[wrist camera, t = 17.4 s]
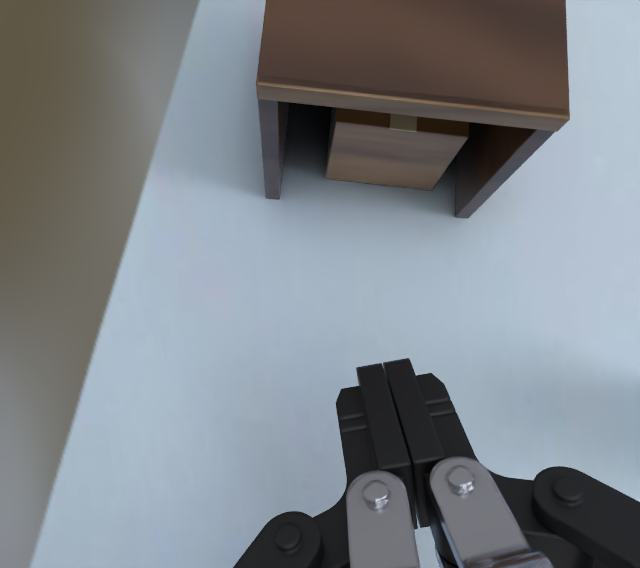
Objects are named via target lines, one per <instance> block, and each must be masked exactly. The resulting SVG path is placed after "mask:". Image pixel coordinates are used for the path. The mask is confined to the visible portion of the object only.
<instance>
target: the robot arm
mask: <svg viewBox="0 0 640 568" xmlns="http://www.w3.org/2000/svg"><path fill="white" fill-rule="evenodd" d="M356 370H357V377H358V383H359V386H356V387H350V388H344V389H341V391H340V394H339V396H338V399H337V401H336V408H337V415H338V421H339V428H340V435H341V441H342V448H343V455H344V461H345V468H346V475H347V486H346V489H345V492H344V494H343V496H342V497H341V499H340V500H339V501H338V502H337V503H336V504H335V505H334V506H333V507H332V508H330V509H328V510H327V511H325V512H323V513H321V514H319V515H317V516H315V517H313V518H312V517H311V516H309V515H307V514H305V513H302V512H296V511H292V512H286V513H282V514H280V515H278V516H276V517H274V518H273V519H271V520H270V521H269V522H268V523H267V524H266V525H265V526H264V528H263V529H262V530H261V532H260V533H259V534H258V536H257V537H256V538H255V540H254V541H253V542H252V543H251V545H250V546H249V547H248V549H247V550H246V551H245V553H244V554H243V555H242V557H241V558H240V559H239V561H238V562H237V563H236V564H235V566H234V567H233V568H420V564H419V558H418V552H417V546H416V541H415V532H414V529H418V527H417V517H418V521H419V525H420V528H422V527H428V526H430V527H431V531H432V534H433V538H434V541H435V550H436V557H437V561H438V563H439V566H440V568H640V502H638V501H636V500H634V499H633V498H631V497H629V496H627V495H625V494H623V493H621V492H619V491H617V490H615V489H613V488H611V487H609V486H608V485H606V484H604V483H602V482H600V481H598V480H596V479H594V478H592V477H590V476H588V475H586V474H584V473H583V472H580V471H578V470H576V469H572V468H568V467H560V466H558V467H550V468H547V469H544V470H542V471H541V472H539V473H538V474H537V475H536V477H535V479H534V481H533V480H524V479H515V478H508V477H504V476H500V475H498V474H495V473H493V472H491V471H490V470H488V469H487V468H486V467H485V466H483V465H482V464H481V463H480V462H479V461H478V459H477V458H476V456H475V454H474V452H473V450H472V447H471V445H470V443H469V440H468V438H467V436H466V433H465V431H464V429H463V427H462V424H461V422H460V420H459V417H458V415H457V413H456V412H455V408H454V406H453V404H452V401H451V400H450V397H449V394H448V392H447V390H446V387H445V385H444V384H443V383H442V382H441V381H440V380H439V379H438V378H436V377H435V376H434V375H433V374H432V373H428V374H423V375H417V376H416V375H415V373H414V370H413V367H412V364H411V362H410V360H409V358H406V359H401V360H395V361H389V362H384V363H383V366H382V364H381V363H379V364H373V365H368V366H362V367H356ZM416 514H417V517H416Z"/></svg>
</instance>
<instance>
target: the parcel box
mask: <svg viewBox="0 0 640 568" xmlns="http://www.w3.org/2000/svg"><path fill="white" fill-rule="evenodd" d="M468 137H469V122H465V121H456V120H446V119H437V118H428V117H419V116H410V115H401V114H392V113H382V112H373V111H364V110H355V109H346V108H337V107H332V112H331V122H330V133H329V144H328V154H327V165H326V175H325V178H326V179H334V180H343V181H352V182H361V183H370V184H378V185H387V186H396V187H405V188H414V189H422V190H432V189H433V187H434V186H435V185H436V183H437V182H438V180H439V179H440V177H441V176H442V175H443V173H444V172H445V170H446V169H447V167H448V166H449V165H450V163H451V162H452V160H453V159H454V157H455V156H456V155H457V153H458V152H459V150H460V149H461V147H462V146H463V145H464V143H465V142H466V140H467V139H468Z"/></svg>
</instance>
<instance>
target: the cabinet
mask: <svg viewBox="0 0 640 568" xmlns="http://www.w3.org/2000/svg"><path fill="white" fill-rule="evenodd" d="M256 89H257V98H258V107H259V119H260V132H261V144H262V156H263V168H264V180H265V192H266V198H271V199H279V198H280V190H281V180H282V170H283V160H284V150H285V141H286V131H287V121H288V111H289V102H291V103H300V104H309V105H318V106H328V107H337V108H346V109H355V110H364V111H373V112H382V113H392V114H401V115H410V116H419V117H428V118H437V119H446V120H456V121H465V122H469V137H468V139H467V140H466V142H465V143H464V145H463V146H462V147H461V149H460V150H459V152H458V153H457V155H456V205H455V217H461V218H469V217H470V216H471V215H472V214H473V213H474V212H475V211H476V210H477V209H478V208H479V207H480V206H481V205H482V204H483V203H484V202H485V201H486V200H487V199H488V198H489V197H490V196H491V195H492V194H493V193H494V192H495V191H496V190H497V189H498V188H499V187H500V186H501V185H502V184H503V183H504V182H505V181H506V180H507V179H508V178H509V177H510V176H511V175H512V174H513V173H514V172H515V171H516V170H517V169H518V168H519V167H520V166H521V165H522V164H523V163H524V162H525V161H526V160H527V159H528V158H529V157H530V156H531V155H532V154H533V153H534V152H535V151H536V150H537V149H538V148H539V147H540V146H541V145H542V144H543V143H544V142H545V141H546V140H547V139H548V138H549V137H550V136H551V135H552V134H553V133H554V132H555V131H558V130H559V129H560V128H561V127H562V126H563V125H564V124H565V123H566V122H568V121H569V119H570V112H569V85H568V57H567V28H566V0H266V6H265V14H264V23H263V31H262V39H261V48H260V56H259V64H258V73H257V81H256Z"/></svg>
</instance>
